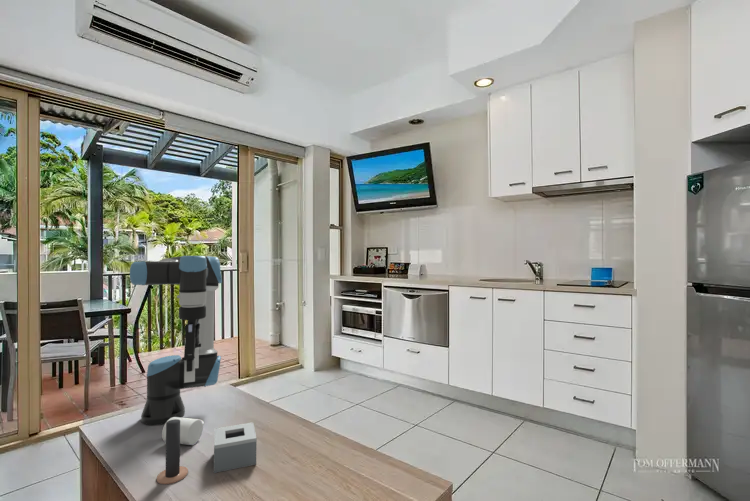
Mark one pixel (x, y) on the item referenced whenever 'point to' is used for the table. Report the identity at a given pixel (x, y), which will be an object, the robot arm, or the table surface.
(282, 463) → the table surface
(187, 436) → the mug
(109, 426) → the table surface
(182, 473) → the coaster
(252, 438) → the square hole box
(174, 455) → the rod
